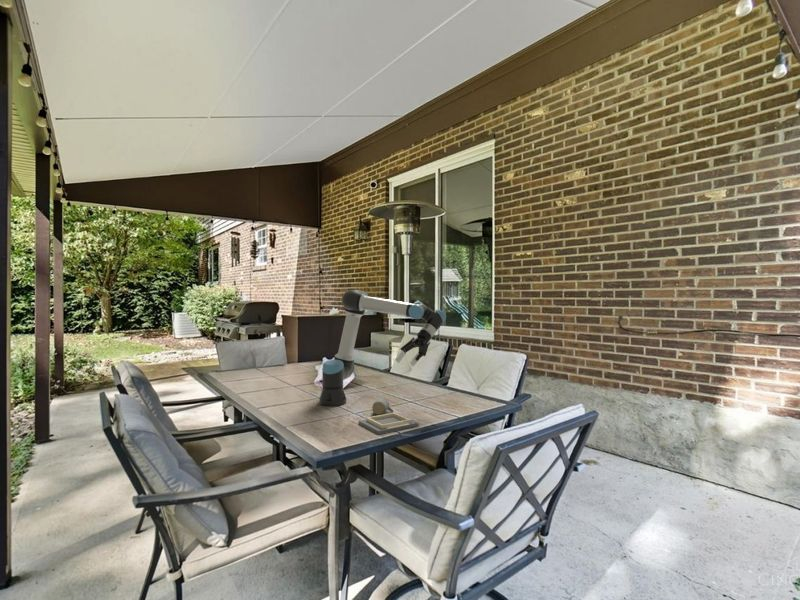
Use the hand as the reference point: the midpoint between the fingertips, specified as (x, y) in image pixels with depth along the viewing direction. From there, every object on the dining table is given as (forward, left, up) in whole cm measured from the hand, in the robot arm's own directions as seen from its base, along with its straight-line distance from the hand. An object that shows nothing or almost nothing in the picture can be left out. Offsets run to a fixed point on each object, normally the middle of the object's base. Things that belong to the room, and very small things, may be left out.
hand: (404, 362), depth 226 cm
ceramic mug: (0, -13, -25) cm, 28 cm away
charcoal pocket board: (+18, -21, -25) cm, 37 cm away
